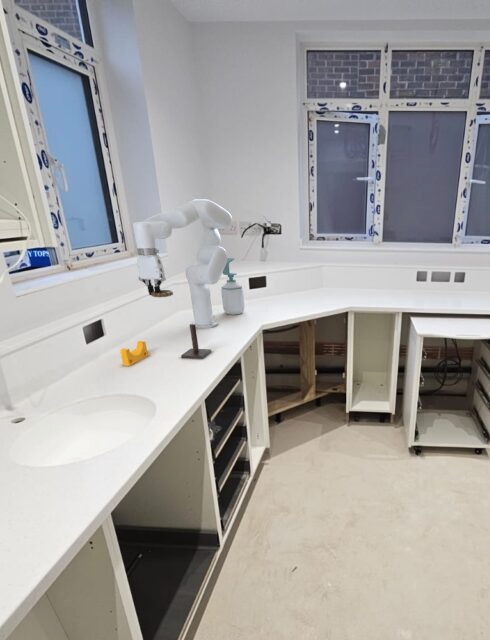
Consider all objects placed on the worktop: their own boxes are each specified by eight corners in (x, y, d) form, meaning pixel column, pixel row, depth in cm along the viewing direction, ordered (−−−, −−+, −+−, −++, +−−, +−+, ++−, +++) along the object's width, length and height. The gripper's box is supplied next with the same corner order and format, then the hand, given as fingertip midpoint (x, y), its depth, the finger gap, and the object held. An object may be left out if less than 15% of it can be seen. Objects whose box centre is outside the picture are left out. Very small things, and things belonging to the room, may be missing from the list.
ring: (158, 293, 186) (157, 289, 185) (177, 293, 185) (176, 289, 184) (147, 297, 178) (146, 293, 177) (167, 298, 177) (166, 293, 176)
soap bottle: (249, 312, 240) (244, 258, 228) (234, 316, 230) (228, 260, 218) (234, 309, 246) (229, 256, 234) (219, 313, 236) (212, 258, 224)
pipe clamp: (139, 355, 169) (136, 340, 166) (148, 356, 168) (145, 341, 165) (119, 365, 158) (115, 349, 155) (129, 366, 157) (125, 350, 155)
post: (191, 351, 174) (186, 321, 169) (211, 351, 174) (207, 322, 168) (181, 358, 166) (176, 327, 161) (202, 359, 165) (198, 327, 160)
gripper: (169, 251, 177) (175, 293, 184) (134, 251, 178) (143, 292, 186) (160, 253, 170) (167, 297, 177) (124, 253, 172) (133, 296, 179)
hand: (155, 294), depth 182 cm, fingers closed on ring, 2 cm apart
